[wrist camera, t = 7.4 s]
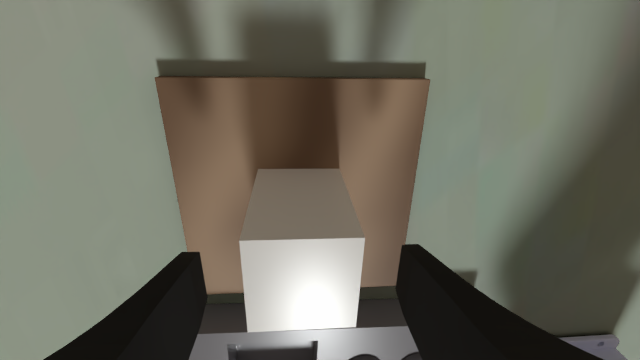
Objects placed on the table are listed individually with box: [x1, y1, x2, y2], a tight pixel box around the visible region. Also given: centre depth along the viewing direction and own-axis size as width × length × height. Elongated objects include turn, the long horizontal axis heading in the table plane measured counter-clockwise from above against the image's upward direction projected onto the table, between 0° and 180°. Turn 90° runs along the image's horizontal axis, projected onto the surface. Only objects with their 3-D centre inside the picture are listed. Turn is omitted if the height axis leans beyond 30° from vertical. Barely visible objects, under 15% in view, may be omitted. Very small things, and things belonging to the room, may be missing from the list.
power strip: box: [189, 299, 422, 360], centre depth 20 cm, size 18×7×3 cm, turn 88°
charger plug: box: [239, 169, 365, 332], centre depth 13 cm, size 4×4×6 cm
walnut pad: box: [155, 76, 430, 294], centre depth 16 cm, size 12×12×1 cm
